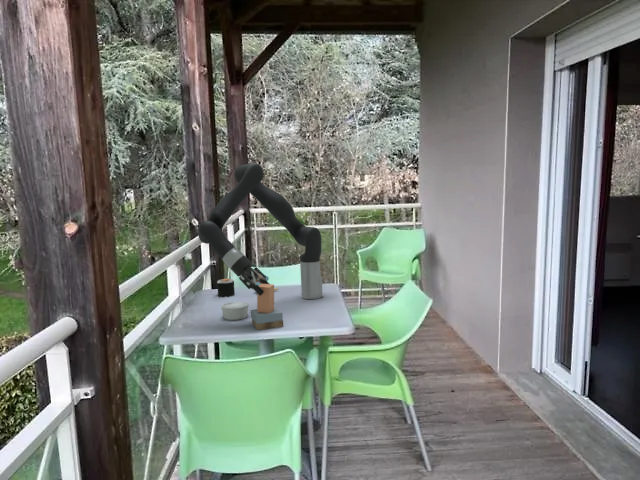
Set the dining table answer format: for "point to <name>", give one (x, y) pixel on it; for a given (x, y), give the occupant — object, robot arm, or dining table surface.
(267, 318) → the slate top slab
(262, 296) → the terracotta block
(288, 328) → the dining table surface
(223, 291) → the sushi
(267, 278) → the toy flower bud
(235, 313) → the ramekin
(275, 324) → the walnut base slab
